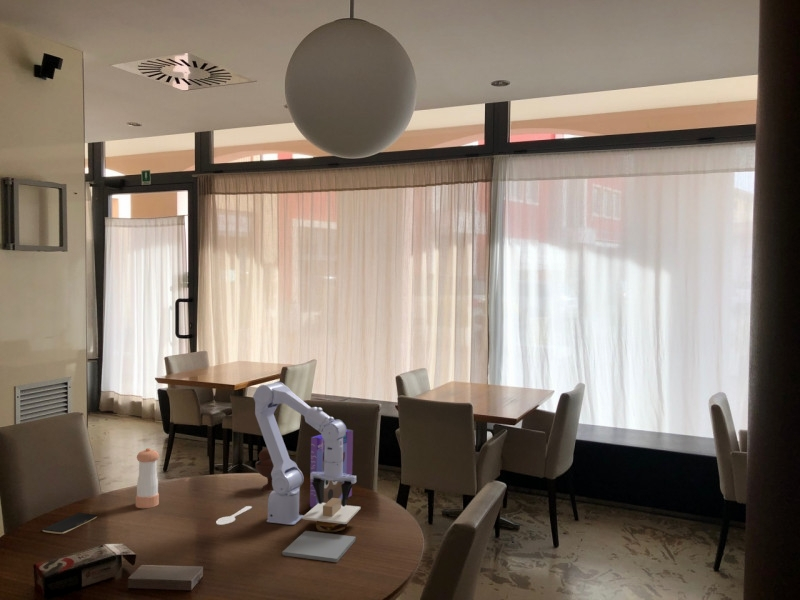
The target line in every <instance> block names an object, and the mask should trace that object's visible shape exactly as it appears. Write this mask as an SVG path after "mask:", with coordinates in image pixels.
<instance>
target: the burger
mask: <svg viewBox="0 0 800 600" xmlns="http://www.w3.org/2000/svg"><path fill="white" fill-rule="evenodd" d="M315 522H316V523H315V529H316V530H317V531H318V532H323V533H330V532H331V533H336V532H339V531H343V530H345V528H347V526H348V523H347V524H339V523H331V522H322V521H315Z"/></svg>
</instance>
